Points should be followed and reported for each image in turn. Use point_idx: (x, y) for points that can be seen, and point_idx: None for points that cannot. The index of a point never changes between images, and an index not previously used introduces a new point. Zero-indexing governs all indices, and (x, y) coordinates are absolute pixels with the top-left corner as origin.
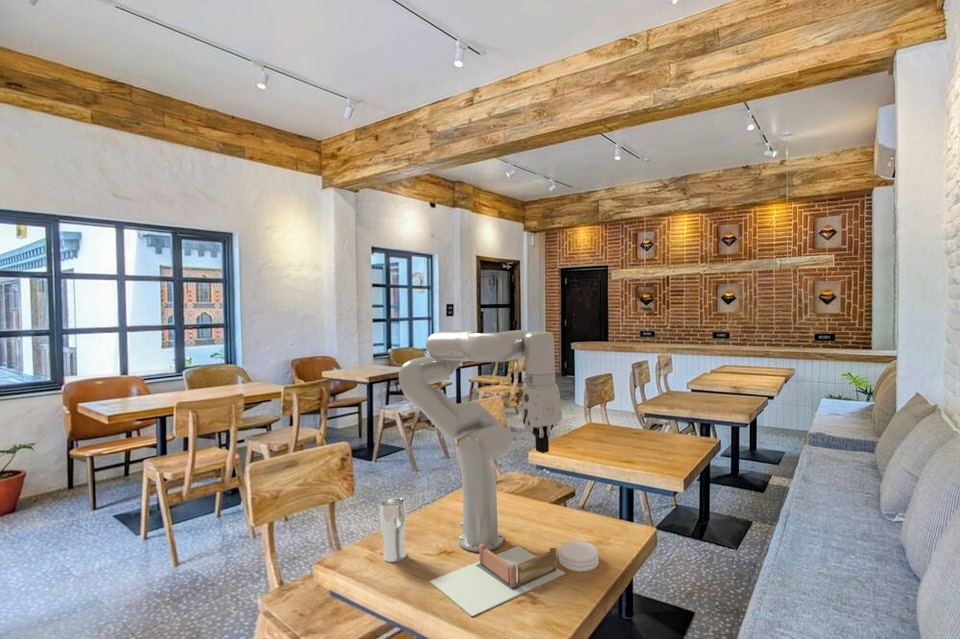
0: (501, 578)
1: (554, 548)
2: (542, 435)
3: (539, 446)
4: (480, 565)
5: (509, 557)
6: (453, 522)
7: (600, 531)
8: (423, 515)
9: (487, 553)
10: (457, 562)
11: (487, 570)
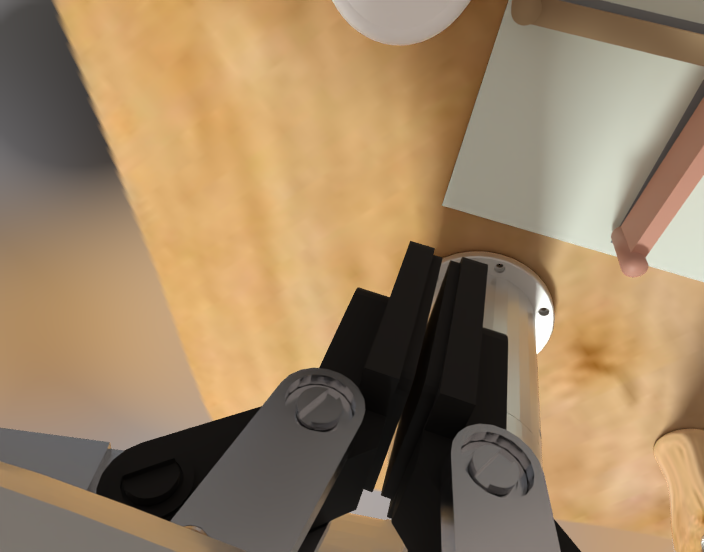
0: None
1: (515, 7)
2: (475, 456)
3: (504, 359)
4: None
5: (529, 187)
6: None
7: (165, 25)
8: None
9: (665, 226)
10: (637, 304)
11: None
